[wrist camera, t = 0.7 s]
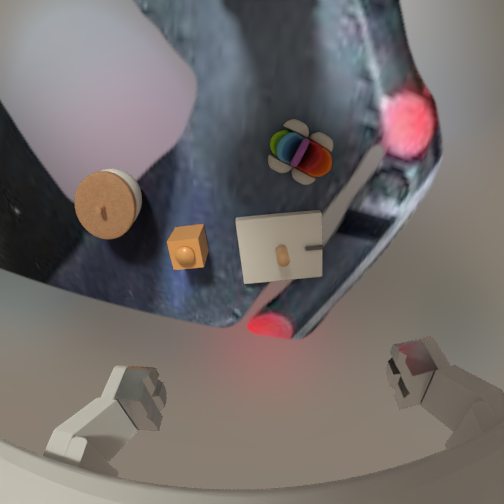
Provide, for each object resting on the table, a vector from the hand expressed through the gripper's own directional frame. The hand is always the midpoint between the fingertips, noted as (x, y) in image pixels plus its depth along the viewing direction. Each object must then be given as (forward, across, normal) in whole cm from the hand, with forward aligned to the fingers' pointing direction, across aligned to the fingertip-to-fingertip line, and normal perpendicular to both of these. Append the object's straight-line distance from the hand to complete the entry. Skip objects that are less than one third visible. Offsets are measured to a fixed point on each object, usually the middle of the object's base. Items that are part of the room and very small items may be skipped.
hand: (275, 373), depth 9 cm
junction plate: (+41, -2, +14) cm, 43 cm away
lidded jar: (+41, +23, +1) cm, 47 cm away
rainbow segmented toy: (+41, -7, -2) cm, 41 cm away
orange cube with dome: (+41, +12, +11) cm, 44 cm away
